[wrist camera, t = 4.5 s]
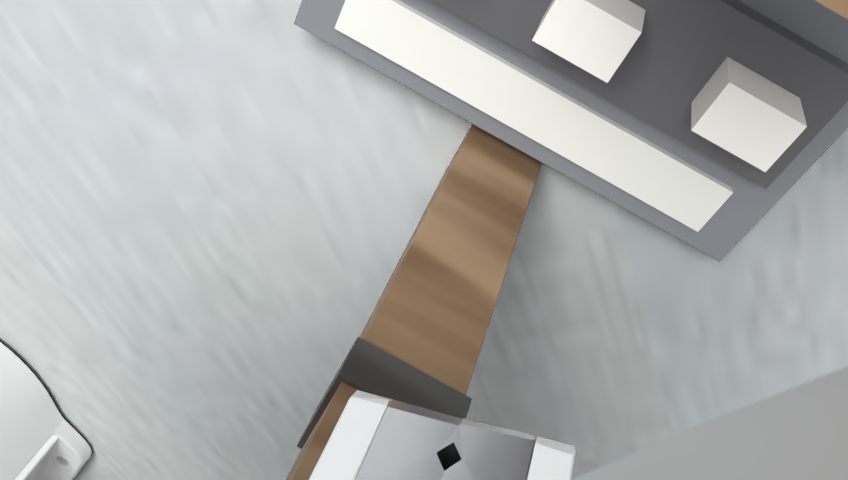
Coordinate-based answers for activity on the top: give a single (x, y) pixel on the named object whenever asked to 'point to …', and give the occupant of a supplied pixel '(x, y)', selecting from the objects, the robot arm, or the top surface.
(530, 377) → the top surface
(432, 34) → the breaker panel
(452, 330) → the post
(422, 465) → the robot arm
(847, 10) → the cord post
